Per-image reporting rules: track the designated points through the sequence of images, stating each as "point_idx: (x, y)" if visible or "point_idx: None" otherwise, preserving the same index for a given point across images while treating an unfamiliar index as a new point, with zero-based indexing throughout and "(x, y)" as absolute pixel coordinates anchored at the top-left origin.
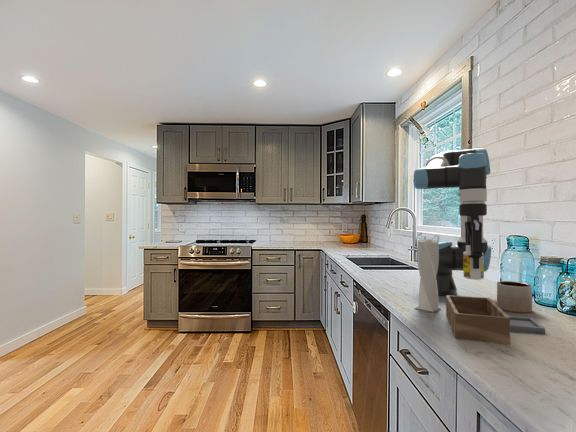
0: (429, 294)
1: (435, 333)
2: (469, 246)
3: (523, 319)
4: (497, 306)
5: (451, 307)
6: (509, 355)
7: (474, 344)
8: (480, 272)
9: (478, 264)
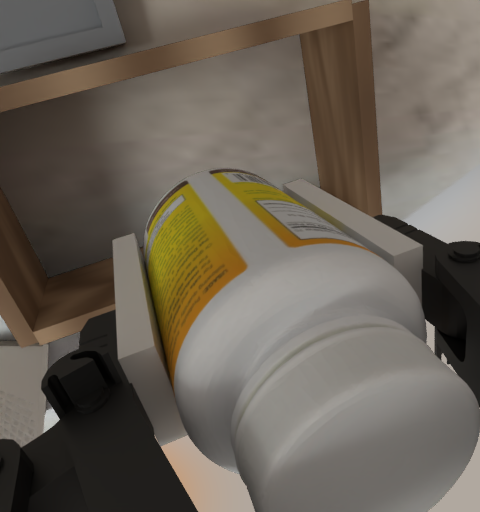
0: (22, 417)
1: None
2: (454, 475)
3: None
4: (135, 59)
5: None
6: (417, 23)
7: None
8: (329, 196)
9: (415, 231)
